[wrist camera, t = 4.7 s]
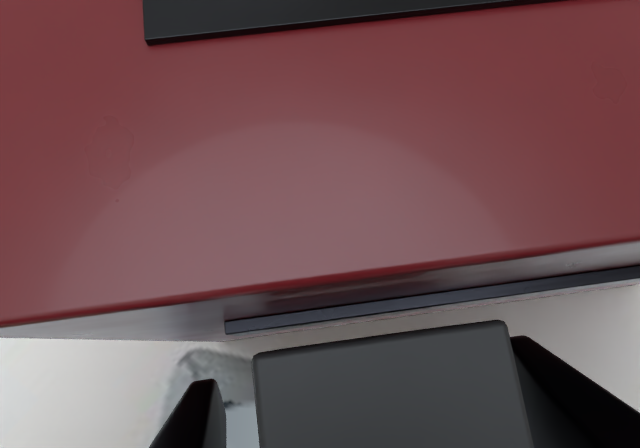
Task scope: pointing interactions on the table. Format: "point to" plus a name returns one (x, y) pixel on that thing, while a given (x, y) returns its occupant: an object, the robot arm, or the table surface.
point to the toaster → (309, 161)
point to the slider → (394, 391)
